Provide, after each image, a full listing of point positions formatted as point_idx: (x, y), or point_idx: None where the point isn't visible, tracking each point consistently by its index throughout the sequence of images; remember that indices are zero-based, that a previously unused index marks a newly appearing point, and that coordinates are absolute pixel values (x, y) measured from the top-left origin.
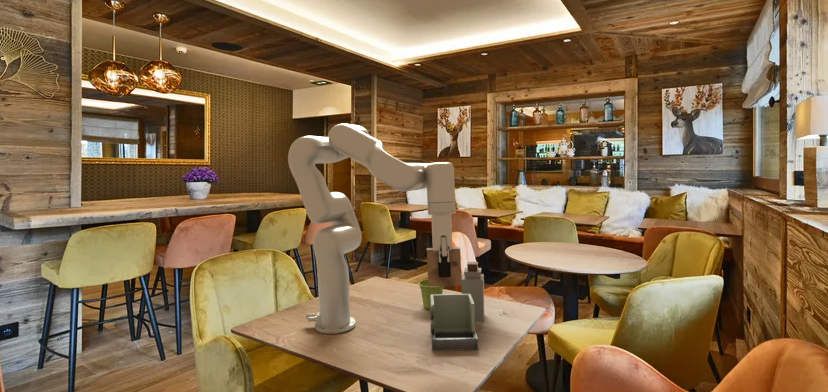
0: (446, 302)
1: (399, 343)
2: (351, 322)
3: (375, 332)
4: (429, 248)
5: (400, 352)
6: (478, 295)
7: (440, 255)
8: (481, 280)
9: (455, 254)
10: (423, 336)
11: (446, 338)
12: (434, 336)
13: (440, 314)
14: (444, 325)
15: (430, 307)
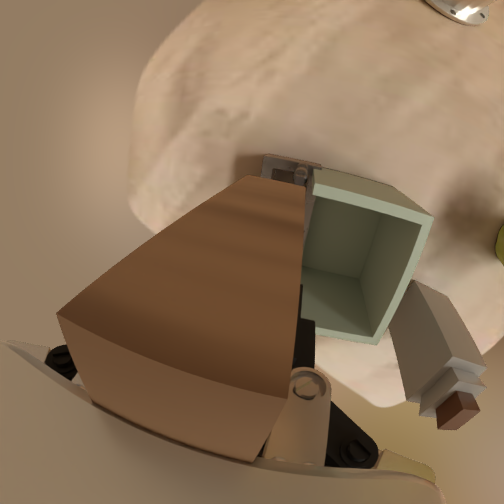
0: (396, 259)
1: (330, 82)
2: (453, 10)
3: (408, 44)
4: (222, 424)
5: (275, 77)
6: (406, 357)
7: (54, 362)
8: (409, 397)
9: None
10: (360, 153)
11: None
12: (284, 168)
13: (391, 224)
14: (380, 223)
15: (501, 232)
